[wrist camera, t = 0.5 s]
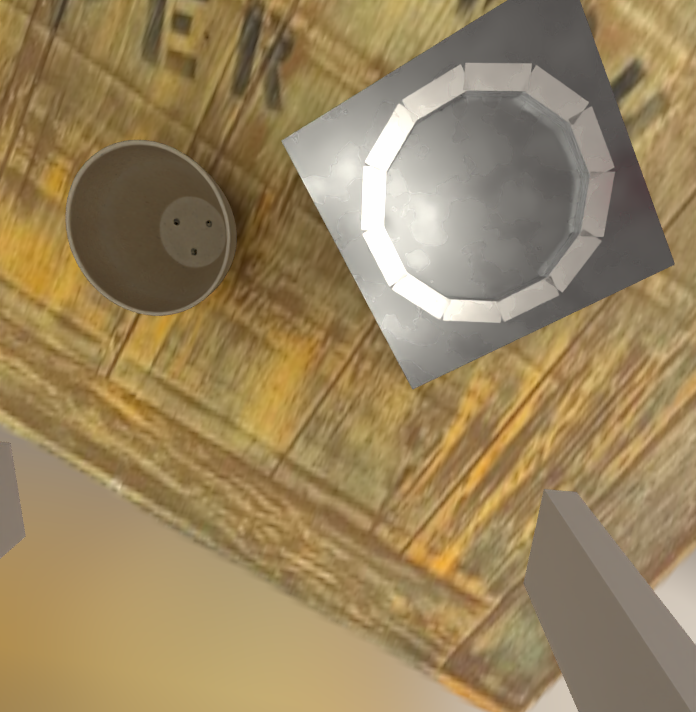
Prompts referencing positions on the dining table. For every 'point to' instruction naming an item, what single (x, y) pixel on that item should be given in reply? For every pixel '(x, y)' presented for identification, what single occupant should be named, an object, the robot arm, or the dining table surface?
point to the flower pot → (149, 227)
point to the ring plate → (484, 187)
